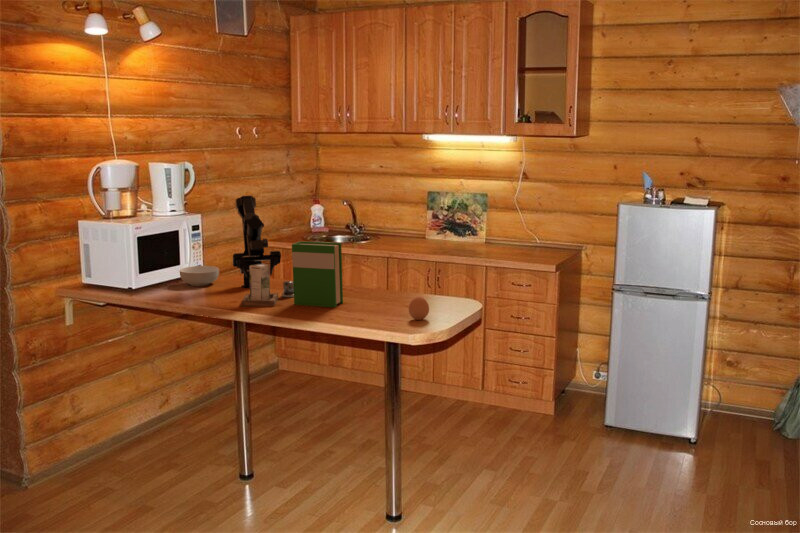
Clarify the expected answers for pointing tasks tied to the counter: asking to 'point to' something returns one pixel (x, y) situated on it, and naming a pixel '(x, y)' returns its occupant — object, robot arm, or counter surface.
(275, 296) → the socket tray
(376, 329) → the counter surface
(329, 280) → the hardback book
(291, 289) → the chuck post
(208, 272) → the cereal bowl
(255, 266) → the syrup box
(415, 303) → the egg
